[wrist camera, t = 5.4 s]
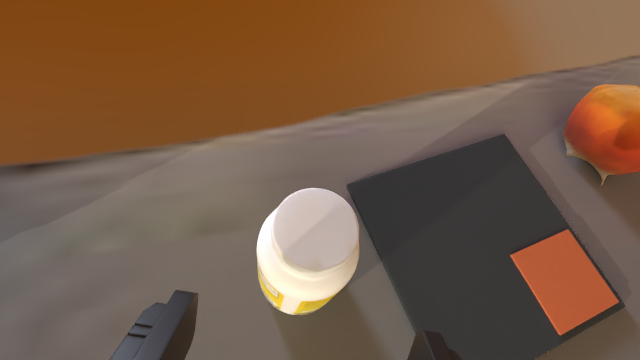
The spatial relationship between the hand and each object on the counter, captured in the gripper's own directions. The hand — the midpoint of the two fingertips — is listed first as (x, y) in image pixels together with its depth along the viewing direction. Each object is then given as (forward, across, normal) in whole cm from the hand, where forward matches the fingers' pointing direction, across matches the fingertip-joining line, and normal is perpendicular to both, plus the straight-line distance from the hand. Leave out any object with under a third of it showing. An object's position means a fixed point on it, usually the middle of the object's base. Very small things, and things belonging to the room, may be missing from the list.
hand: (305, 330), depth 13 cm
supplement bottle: (+11, 0, +5) cm, 12 cm away
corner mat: (+14, -14, +2) cm, 20 cm away
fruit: (+22, -25, -6) cm, 34 cm away
